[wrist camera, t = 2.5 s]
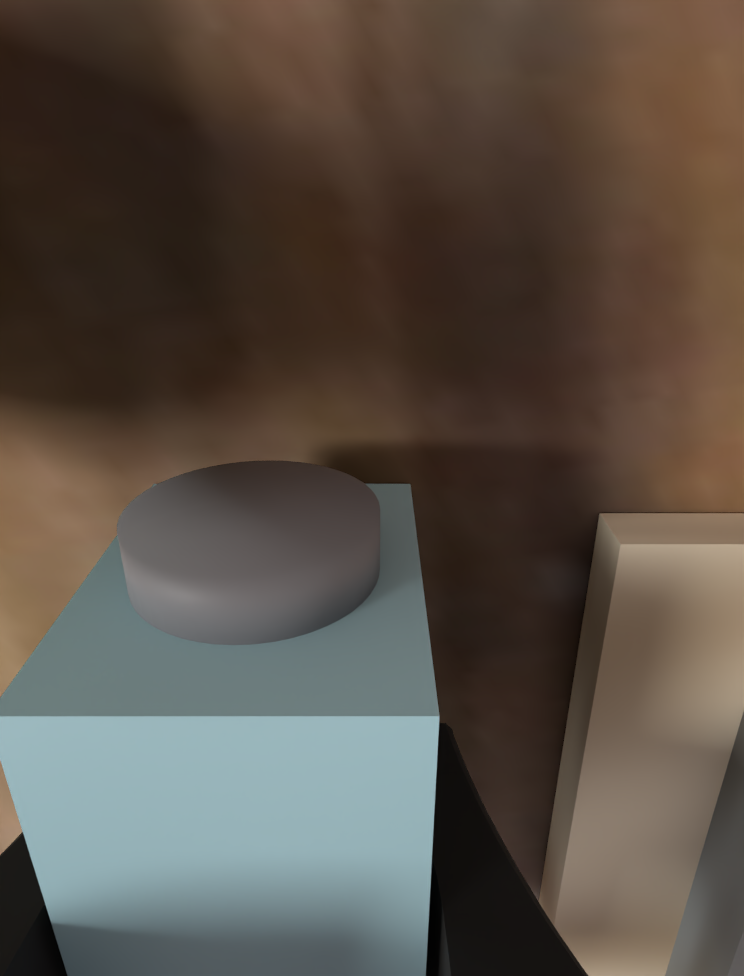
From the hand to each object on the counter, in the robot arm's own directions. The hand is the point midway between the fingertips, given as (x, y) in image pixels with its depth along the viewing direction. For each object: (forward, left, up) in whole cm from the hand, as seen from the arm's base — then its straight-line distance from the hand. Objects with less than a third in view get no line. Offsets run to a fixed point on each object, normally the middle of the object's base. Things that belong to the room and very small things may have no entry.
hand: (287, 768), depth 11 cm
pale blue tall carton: (0, 0, -1) cm, 1 cm away
